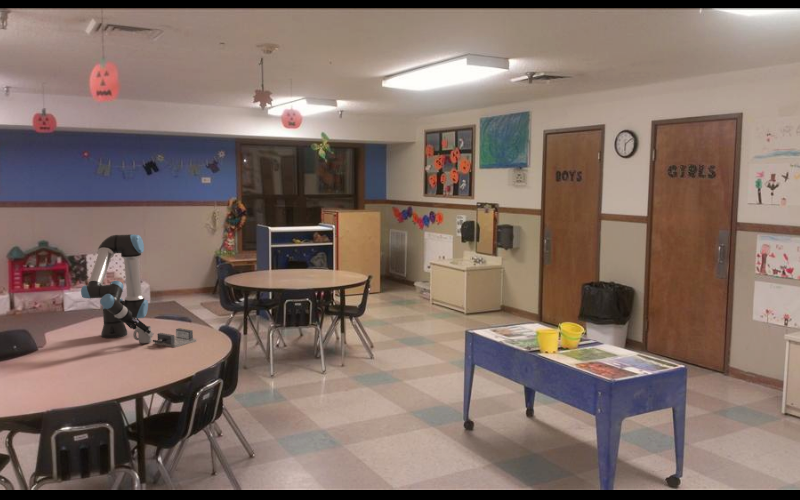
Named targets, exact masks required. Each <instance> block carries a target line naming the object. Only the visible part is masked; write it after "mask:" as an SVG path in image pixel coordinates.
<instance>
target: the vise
mask: <svg viewBox="0 0 800 500" xmlns="http://www.w3.org/2000/svg"><path fill="white" fill-rule="evenodd" d="M156 334H157V340H156V339H152V342H153V343H154V344H155V345H160V346H164V347H165V346H166V347H170V348H178V347H181V346H185V345H188V343H189V344H193V343H196V342H197V341H198V340H197V338H194V336H193V335H194V332H193V330H192V329H186V328H176V329H175V335H174V334H171V333H170V334H169V333H163V332H158V333H156Z"/></svg>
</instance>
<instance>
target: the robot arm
mask: <svg viewBox="0 0 800 500" xmlns="http://www.w3.org/2000/svg"><path fill="white" fill-rule="evenodd" d="M144 251H145V244H144V241H143V238H142V237H141V235H139V234H134V233H133V234H114V235H110V236H108V237H106V238H105V239H104V240H103V241H102V242H101V243H100V244H99V246H98V248H97V251H96V252H97V257H96V260H95V262H94V265H93V269H92V271H91V274H90V277H89V281H88V284H87V285H86V284H85V285H83V286H81V290H80V294H81V296H82V298H83V299H100V301H99V302H100V305H101V306H102V317H103V325H102V326H103V327H102V330H101V337H102V338H106V339H114V338H115V339H116V338H120V337H124V336H127V335H128V329H127V327H129V329H132V330H134V331H135V330H137V329H138V327H139V328H140V329H142V330H143V331H144V333H146V334H147V335H148V336H150V337H151V339H152V338H153V336H154V334H155V333H154V332H153V331H152V330H151V331H150V330H149V327H147V326H148V325H146V324H145V323H143V322H142V321H141V320H140V319H144V318H145V317H146V315H147V314H148V309H149V302H148V300H147V299H145V296H144V295H143V294H142V285H141V284H142V283H141V282H142V281H141V271H140V269H141V268H140V259H139V258H140V257H141V256H142V254H143V253H144ZM116 254H120V256H121V258H122V259H123V261H124V272H125V273H124V274H125V276H124V277H125V286H126V287H125V288H126V289H125V290H126V297H124V300H123V298H122V296H123V295H122V294H123V292H124V291H123V290H124V284H123V282H121V281H119V280H113V281H111V282H110V284H104V281H105V277H106V275H107V271H108V268H109V265H110V262H111V260H112V258H113V257H114V255H116ZM126 326H127V327H126Z"/></svg>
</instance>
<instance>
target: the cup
mask: <svg viewBox="0 0 800 500" xmlns="http://www.w3.org/2000/svg"><path fill="white" fill-rule="evenodd" d="M146 326H147V327H149V330H150V331H151V332H152V327H151V325H146ZM137 334H138V335H137ZM132 337H133V339H134V340H135V341H138V342H139V344H147V343H151V342H152V338H151V337H150V336H148V335H147V334H146V333H144V331H143V330H142V329H140V328H139V327H138V329H137V330H135V329H134V331H133V336H132Z"/></svg>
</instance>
